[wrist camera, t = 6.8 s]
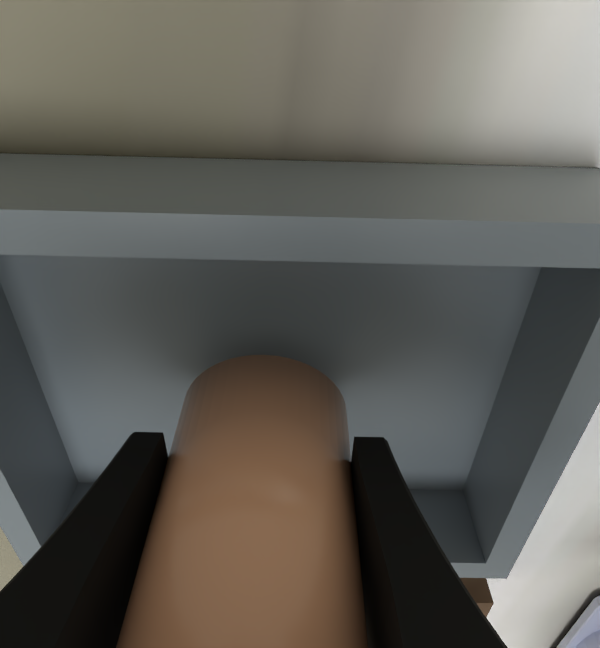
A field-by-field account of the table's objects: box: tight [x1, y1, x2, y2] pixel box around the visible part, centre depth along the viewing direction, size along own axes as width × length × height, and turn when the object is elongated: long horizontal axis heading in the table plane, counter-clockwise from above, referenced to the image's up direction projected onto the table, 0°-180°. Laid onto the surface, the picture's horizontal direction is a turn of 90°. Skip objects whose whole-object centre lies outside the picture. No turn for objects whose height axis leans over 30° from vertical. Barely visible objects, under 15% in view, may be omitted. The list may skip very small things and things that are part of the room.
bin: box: [0, 153, 600, 578], centre depth 12 cm, size 14×11×3 cm
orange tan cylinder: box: [116, 355, 368, 648], centre depth 9 cm, size 4×4×6 cm
